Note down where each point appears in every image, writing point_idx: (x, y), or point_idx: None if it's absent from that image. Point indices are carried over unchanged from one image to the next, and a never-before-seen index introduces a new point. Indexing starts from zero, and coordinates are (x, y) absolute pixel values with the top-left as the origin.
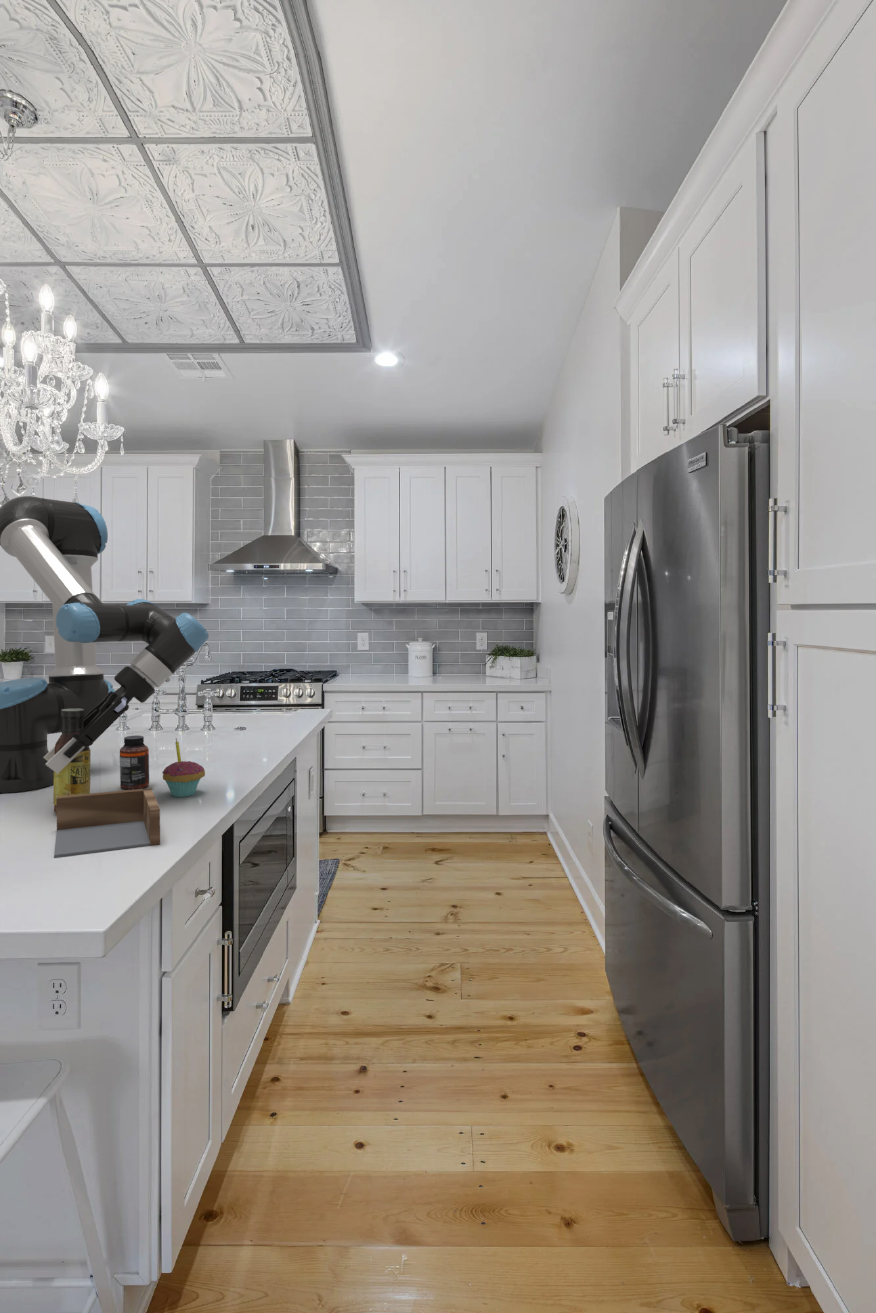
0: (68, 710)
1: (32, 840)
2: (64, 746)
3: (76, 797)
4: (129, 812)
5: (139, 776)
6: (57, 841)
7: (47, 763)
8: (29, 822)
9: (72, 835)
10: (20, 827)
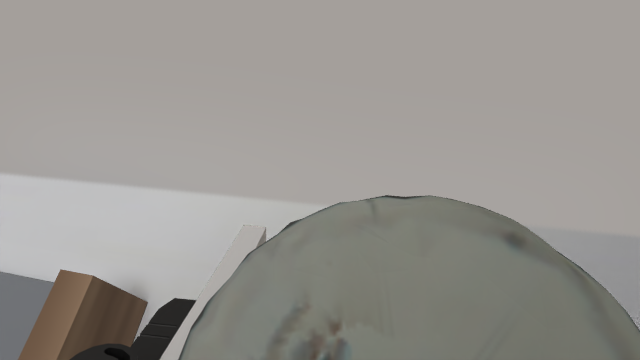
0: (236, 297)
1: (98, 229)
2: (203, 303)
3: (25, 345)
4: None
5: None
6: (4, 278)
7: (241, 231)
8: None
9: (25, 326)
10: (252, 219)
